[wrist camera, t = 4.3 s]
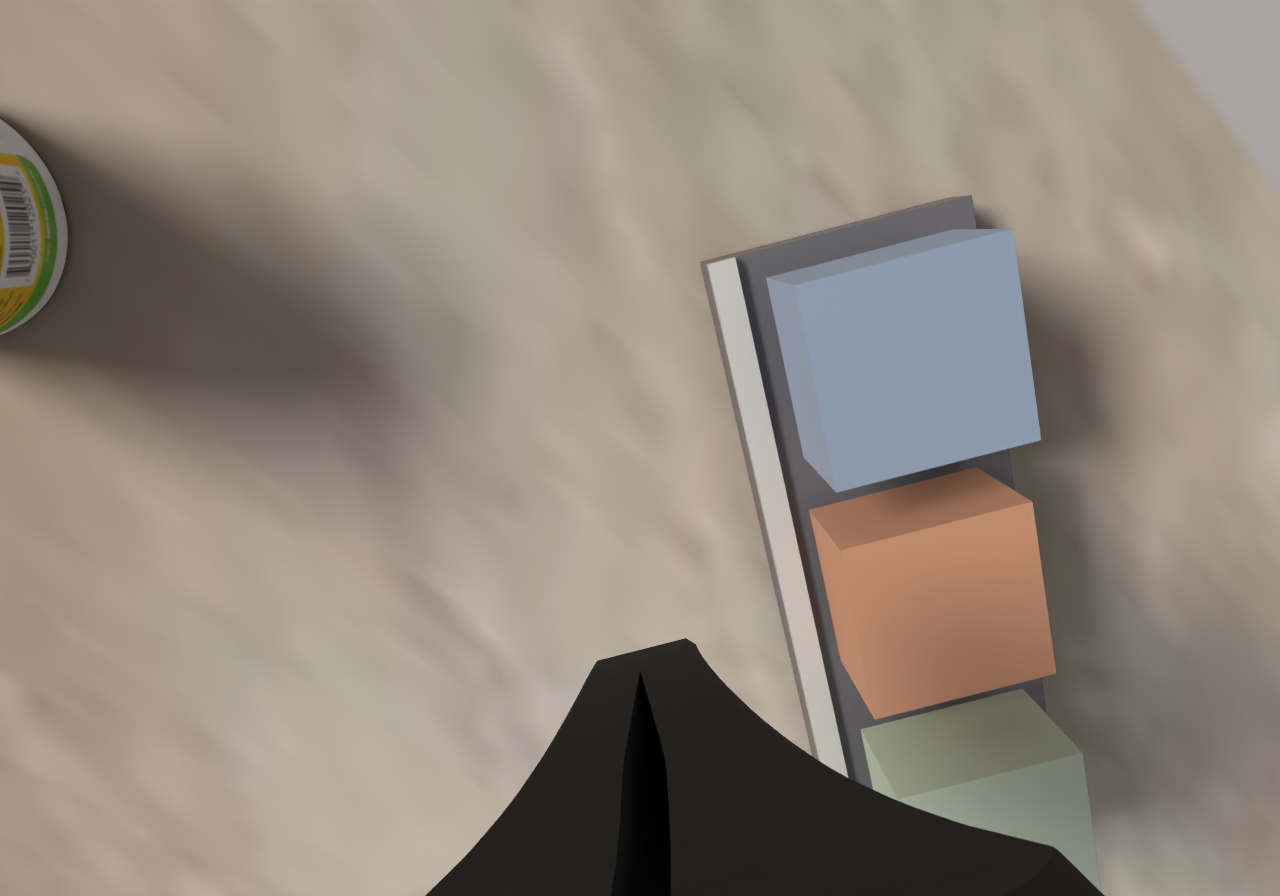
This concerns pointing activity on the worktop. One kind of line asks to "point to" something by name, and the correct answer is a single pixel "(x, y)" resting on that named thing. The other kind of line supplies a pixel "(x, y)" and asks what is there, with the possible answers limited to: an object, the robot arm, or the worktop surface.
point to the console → (795, 485)
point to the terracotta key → (935, 590)
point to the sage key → (990, 772)
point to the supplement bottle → (27, 231)
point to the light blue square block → (907, 356)
